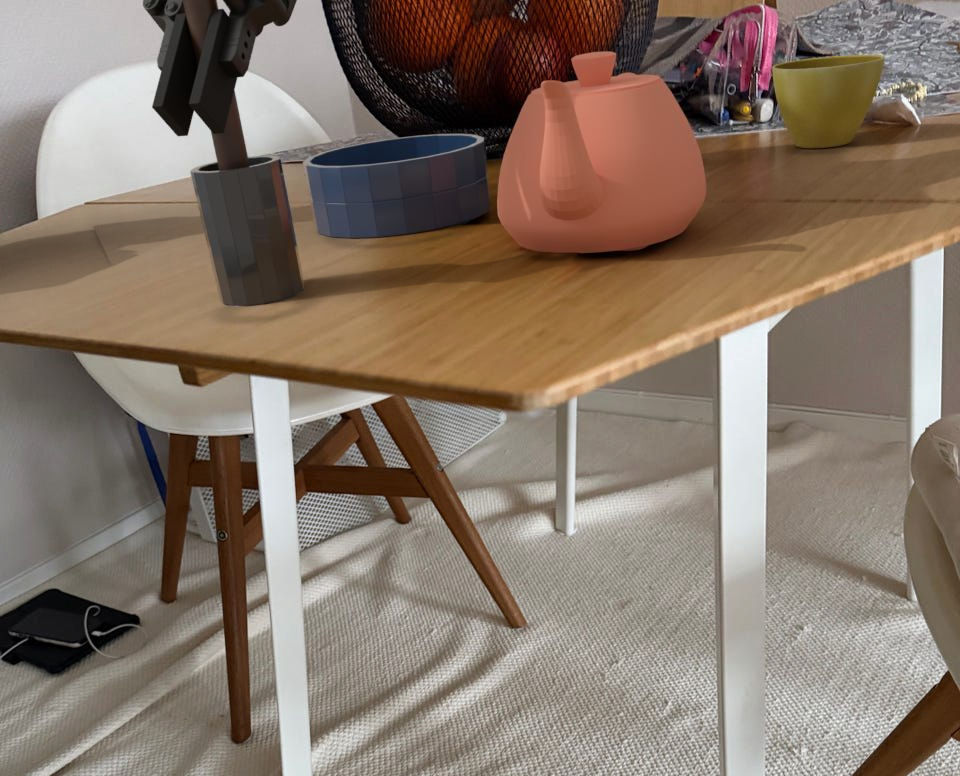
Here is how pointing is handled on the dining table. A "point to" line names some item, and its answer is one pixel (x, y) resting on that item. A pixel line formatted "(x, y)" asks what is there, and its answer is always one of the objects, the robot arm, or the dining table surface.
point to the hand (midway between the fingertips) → (188, 119)
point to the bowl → (398, 185)
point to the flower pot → (826, 97)
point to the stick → (232, 142)
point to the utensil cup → (249, 231)
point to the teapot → (600, 163)
